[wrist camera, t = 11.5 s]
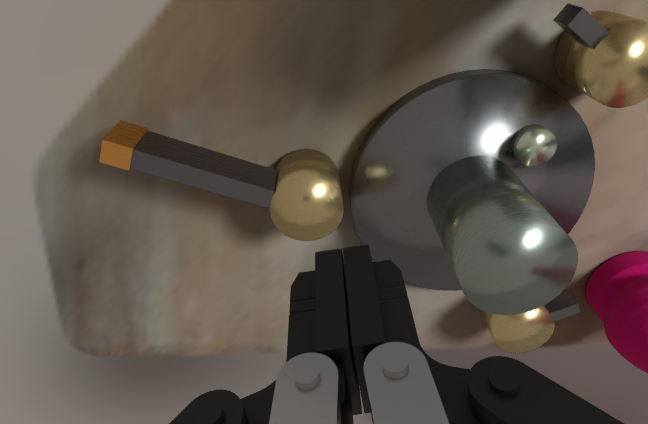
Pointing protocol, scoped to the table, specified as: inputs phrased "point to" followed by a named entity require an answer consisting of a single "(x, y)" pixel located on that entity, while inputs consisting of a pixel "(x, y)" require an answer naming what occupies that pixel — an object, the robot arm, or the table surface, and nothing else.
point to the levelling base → (466, 133)
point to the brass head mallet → (238, 178)
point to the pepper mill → (623, 304)
